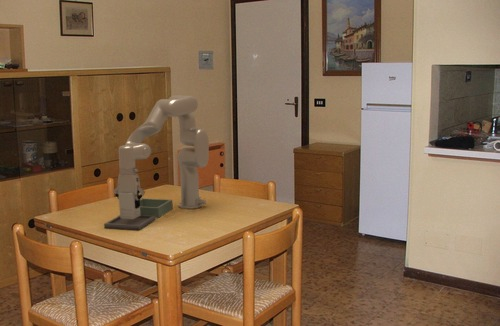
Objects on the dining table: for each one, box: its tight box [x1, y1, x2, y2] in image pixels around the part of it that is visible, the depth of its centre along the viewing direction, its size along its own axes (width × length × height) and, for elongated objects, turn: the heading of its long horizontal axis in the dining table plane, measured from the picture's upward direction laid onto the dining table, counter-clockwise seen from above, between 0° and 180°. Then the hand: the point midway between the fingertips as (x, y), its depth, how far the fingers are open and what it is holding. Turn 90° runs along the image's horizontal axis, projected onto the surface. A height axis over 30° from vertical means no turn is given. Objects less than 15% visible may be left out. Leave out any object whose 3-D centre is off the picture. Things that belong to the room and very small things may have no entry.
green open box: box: [140, 197, 174, 219], centre depth 297 cm, size 17×17×5 cm
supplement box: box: [118, 191, 140, 219], centre depth 275 cm, size 7×7×13 cm
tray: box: [103, 214, 157, 232], centre depth 277 cm, size 18×18×2 cm
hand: (129, 207), depth 275 cm, fingers closed on supplement box, 7 cm apart
